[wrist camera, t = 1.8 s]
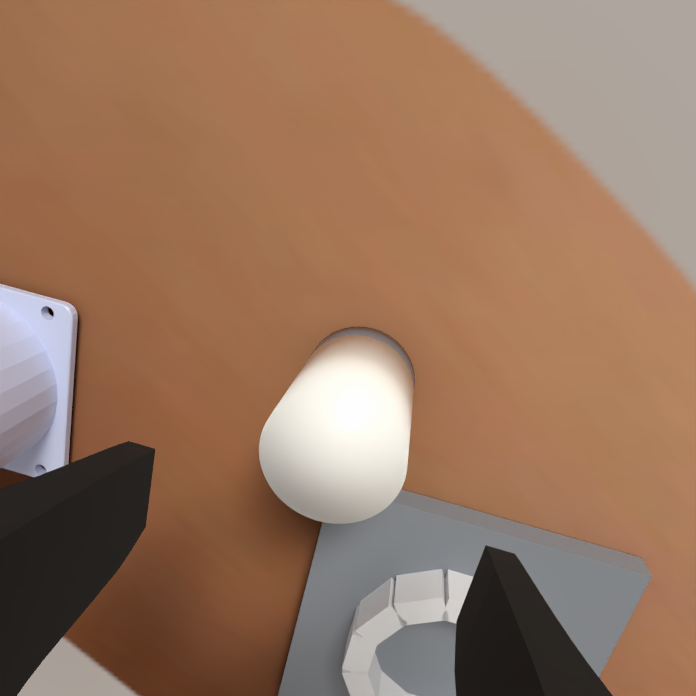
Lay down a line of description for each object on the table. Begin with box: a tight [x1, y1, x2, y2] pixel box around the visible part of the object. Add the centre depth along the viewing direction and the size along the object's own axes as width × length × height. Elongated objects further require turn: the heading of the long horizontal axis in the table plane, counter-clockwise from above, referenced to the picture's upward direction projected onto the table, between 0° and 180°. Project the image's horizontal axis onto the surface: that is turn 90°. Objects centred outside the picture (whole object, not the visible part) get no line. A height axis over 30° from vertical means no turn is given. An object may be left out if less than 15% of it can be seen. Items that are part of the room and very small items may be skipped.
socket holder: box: [278, 489, 652, 696], centre depth 22 cm, size 12×12×2 cm
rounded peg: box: [259, 327, 415, 524], centre depth 17 cm, size 4×4×6 cm
